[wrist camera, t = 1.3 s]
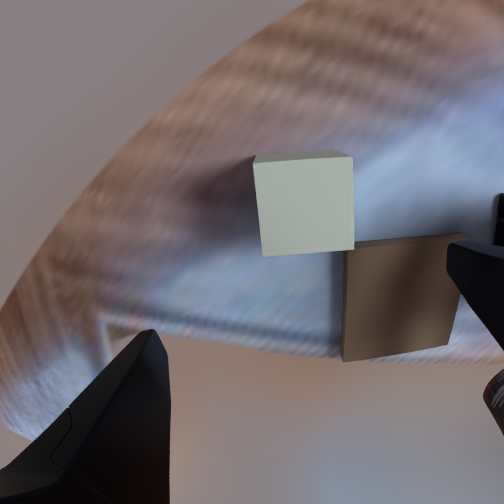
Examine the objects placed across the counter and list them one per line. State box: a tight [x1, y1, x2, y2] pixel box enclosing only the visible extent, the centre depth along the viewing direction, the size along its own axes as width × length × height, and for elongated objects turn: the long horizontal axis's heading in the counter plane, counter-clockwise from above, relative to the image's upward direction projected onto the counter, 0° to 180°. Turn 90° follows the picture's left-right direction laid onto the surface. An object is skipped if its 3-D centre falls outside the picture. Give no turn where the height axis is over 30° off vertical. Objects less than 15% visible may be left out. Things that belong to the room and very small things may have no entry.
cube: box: [253, 149, 354, 257], centre depth 18 cm, size 5×5×5 cm
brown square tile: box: [341, 233, 469, 362], centre depth 23 cm, size 10×10×1 cm
